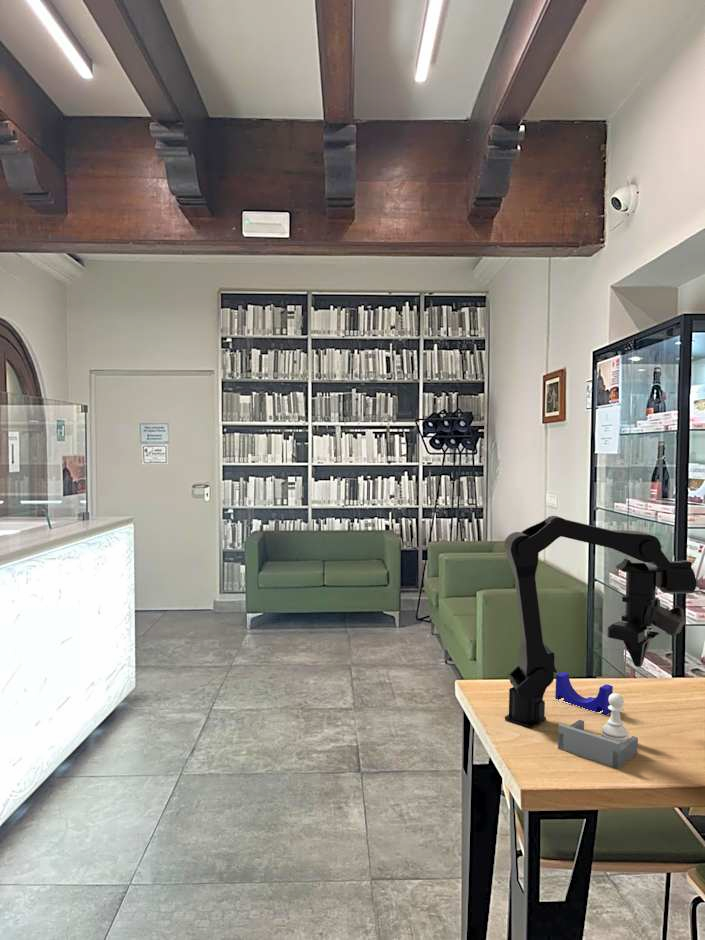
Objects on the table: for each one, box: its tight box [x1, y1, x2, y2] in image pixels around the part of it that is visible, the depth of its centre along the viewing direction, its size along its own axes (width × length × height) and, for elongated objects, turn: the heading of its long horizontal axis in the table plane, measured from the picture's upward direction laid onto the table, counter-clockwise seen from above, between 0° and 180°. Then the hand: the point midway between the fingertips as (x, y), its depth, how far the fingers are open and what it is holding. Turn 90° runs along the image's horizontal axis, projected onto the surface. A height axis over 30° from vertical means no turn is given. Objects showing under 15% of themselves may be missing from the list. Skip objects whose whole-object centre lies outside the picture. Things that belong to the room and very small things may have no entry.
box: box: [557, 719, 639, 770], centre depth 129 cm, size 12×9×4 cm
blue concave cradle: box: [554, 671, 614, 716], centre depth 152 cm, size 12×4×6 cm, turn 43°
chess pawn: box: [600, 692, 630, 744], centre depth 134 cm, size 5×5×9 cm
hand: (638, 666), depth 142 cm, fingers closed
